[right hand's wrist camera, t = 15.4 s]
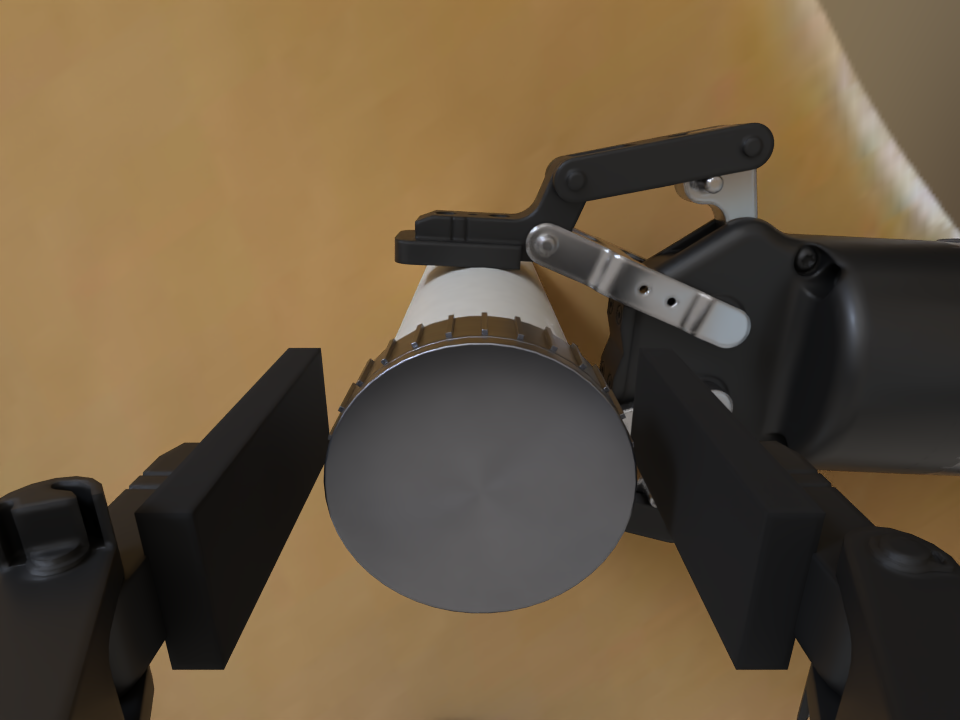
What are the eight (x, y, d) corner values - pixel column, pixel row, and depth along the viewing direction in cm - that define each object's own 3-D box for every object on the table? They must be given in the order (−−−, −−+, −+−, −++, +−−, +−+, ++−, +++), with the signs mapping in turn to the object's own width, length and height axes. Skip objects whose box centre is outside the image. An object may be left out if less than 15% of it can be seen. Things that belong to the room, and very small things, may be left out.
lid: (551, 258, 11) (563, 278, 9) (661, 500, 12) (687, 550, 11) (285, 388, 12) (255, 425, 10) (424, 595, 13) (416, 655, 12)
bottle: (541, 338, 26) (613, 569, 12) (430, 348, 26) (372, 587, 12) (534, 225, 24) (609, 337, 10) (415, 236, 24) (327, 362, 10)
